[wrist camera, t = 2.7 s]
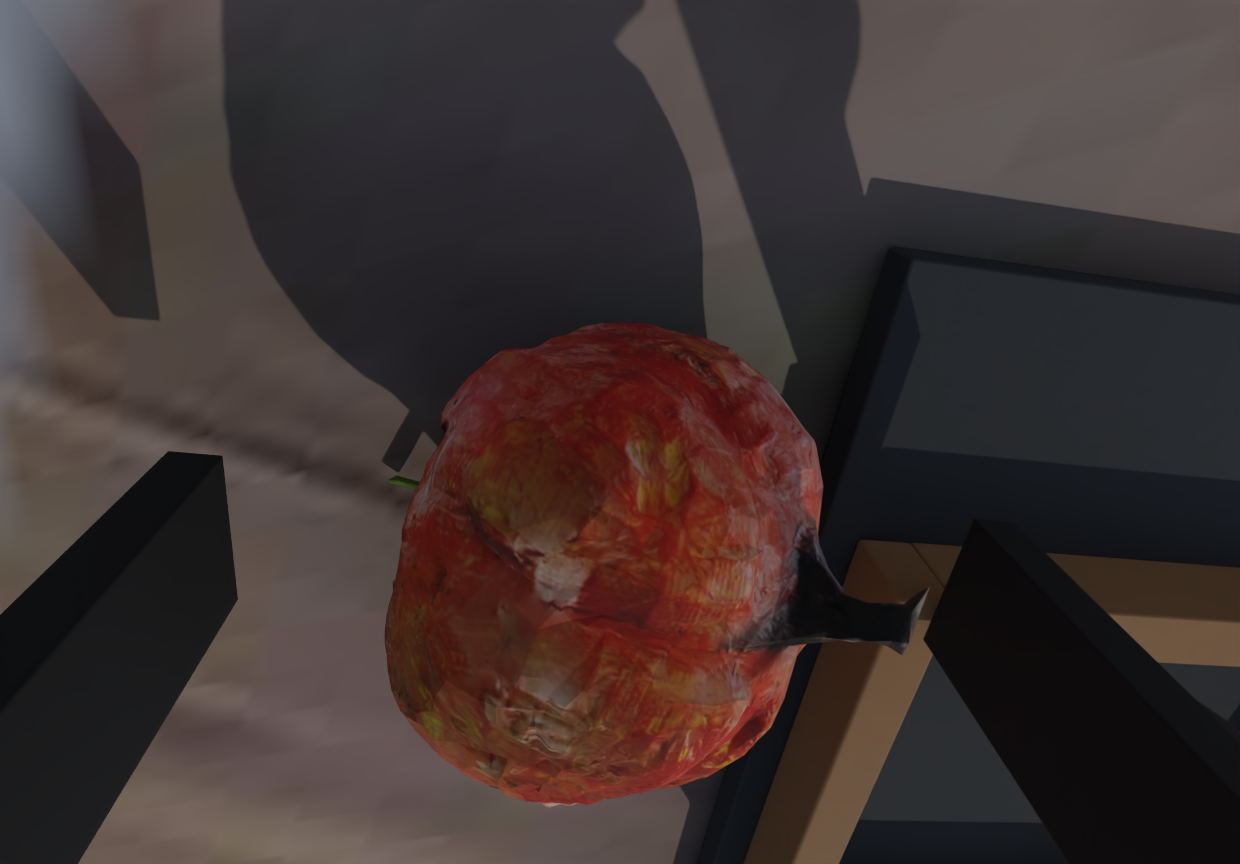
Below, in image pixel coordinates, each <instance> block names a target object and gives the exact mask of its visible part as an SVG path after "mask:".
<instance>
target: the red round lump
mask: <svg viewBox="0 0 1240 864" xmlns="http://www.w3.org/2000/svg"><path fill="white" fill-rule="evenodd" d="M441 428H442V429H443V430H444V431H445V432H446V433H445V436H444V438H443V440H442V441H441V443H440V444H439V446H438V447H437V449H436V450H435V452H434V453H433V455H432V457H431V458H430V460H429V461H428V463H427V465H426V468H425V471H424V474H423V477H422V479H421V481H420V482H418V481H414V480H410V479H407V478H403V477H400V476H395V477H393V478H391V479H389V483H392V484H396V485H400V486H404V487H408V488H412V489H414V490H415V493H414V495H413V498H412V500H411V503H410V505H409V508H408V511H407V515H406V518H405V521H404V524H403V528H402V544H401V551H400V557H399V563H398V569H397V574H396V580H394V581H393V593H392V596H391V600H390V603H389V607H388V612H387V617H386V625H385V647H386V653H387V665H388V673H389V679H390V684H391V689H392V692H393V695H394V697H395V699H396V702H397V704H398V706H399V709H400V711H401V712H402V713H403V715H404V716H405V717H406V719H407V720H408V721H409V722H410V724H411V725H412V726H413V728H414V729H415V730H416V731H417V732H418V734H419V735H420V736H421V737H422V738H423V739H424V740H425V741H426V742H427V743H428V744H429V745H430V746H431V748H432V749H433V750H434V751H435V752H436V753H437V754H438V755H439V756H440V757H441V758H442V759H444V760H445V761H447V762H449V763H451V764H452V765H454V766H455V767H456V768H457V769H458V770H460V771H461V772H462V773H463V774H464V775H466V776H469V777H471V778H473V779H475V780H478V781H480V782H482V783H484V784H487V785H489V786H491V787H494V788H497V789H500V790H501V791H502V792H503V793H504V794H505V795H506V796H509V797H513V798H516V799H519V800H523V801H530V802H540V803H541V804H543V805H544V806H546V807H547V808H550V807H552V806H555V805H561V804H564V805H567V806H571V805H574V804H577V803H578V804H585V805H588V804H592V803H596V802H599V801H602V800H604V799H611V798H620V797H623V796H626V795H629V794H636V793H642V792H646V791H650V790H653V789H661V788H667V787H674V786H680V785H684V784H686V783H689V782H692V781H694V780H697V779H700V778H706V777H708V776H710V775H712V774H713V773H715V772H717V771H718V770H720V769H722V768H723V767H725V766H727V765H729V764H730V763H732V762H734V761H735V760H737V759H739V758H740V757H742V756H744V755H745V754H746V753H747V752H748V750H749V749H750V748H751V747H752V746H753V745H754V744H755V743H756V742H757V741H758V740H759V739H760V738H761V737H762V736H763V735H764V734H765V733H766V732H767V731H768V730H769V729H770V728H771V726H772V724H773V722H774V720H775V717H776V715H777V713H778V711H779V709H780V707H781V704H782V702H783V700H784V698H785V694H786V691H787V688H788V684H789V681H790V677H791V674H792V671H793V667H794V664H795V661H796V657H797V655H798V654H799V652H800V651H801V650H802V649H803V647H804V646H805V645H806V644H809V643H820V642H831V641H842V640H843V641H849V642H867V641H873V642H876V643H879V644H882V645H885V646H888V647H889V648H891V649H892V650H894V651H895V652H897V653H899V654H900V655H903V653H904V651H905V650H906V648H907V647H908V645H909V644H910V642H911V638H912V635H913V632H914V629H915V626H916V623H917V620H918V617H919V614H920V612H921V609H922V606H923V604H924V601H925V598H926V596H927V593H928V591H929V588H930V586H929V587H927V588H926V589H924V590H922V591H920V592H919V593H917V594H915V595H914V596H913V597H912V598H910V599H909V600H908V601H907V602H905V603H904V604H892V603H866V602H864V601H861V600H859V599H856V598H854V597H851V596H848V595H847V594H846V593H845V591H844V590H843V588H842V587H841V586H840V584H839V583H838V581H837V580H836V579H835V577H834V576H833V574H832V573H831V571H830V570H829V567H828V565H827V562H826V560H825V558H824V555H823V553H822V550H821V548H820V545H819V538H818V529H819V520H820V511H821V502H822V493H823V481H822V476H821V470H820V464H819V459H818V453H817V447H816V444H815V441H814V439H813V438H812V437H811V436H810V434H809V433H808V432H807V431H806V430H805V429H804V427H803V426H802V424H801V423H800V421H799V420H798V419H797V417H796V416H795V414H794V413H793V411H792V410H791V409H790V407H789V406H788V404H787V403H786V402H785V401H784V399H783V398H782V397H781V395H780V394H779V393H778V392H777V390H776V389H775V388H774V386H773V385H772V384H771V383H770V382H769V380H768V379H767V378H765V377H764V376H763V375H762V374H761V373H760V372H758V371H757V370H756V369H755V368H753V367H752V366H751V365H750V364H749V363H747V362H746V361H745V360H744V359H742V358H741V357H740V356H738V355H737V354H736V353H735V352H734V351H733V350H732V349H731V348H729V347H725V346H722V345H719V344H717V343H716V342H714V341H712V340H709V339H706V338H703V337H701V336H696V335H689V334H683V333H681V332H678V331H672V330H666V329H662V328H660V327H658V326H656V325H652V324H649V323H634V322H614V323H600V324H595V325H588V326H582V327H581V328H579V329H577V330H576V331H573V332H570V333H567V334H564V335H561V336H557V337H552V338H549V339H548V340H547V341H546V342H544V343H543V344H542V345H540V346H537V347H533V348H521V349H519V348H509V349H505V350H502V351H500V352H499V353H497V354H496V355H495V356H493V357H492V358H491V359H490V360H489V361H487V362H486V363H485V364H484V365H482V366H481V367H480V368H479V369H477V370H476V371H475V372H474V373H473V374H472V375H471V376H469V377H468V378H467V379H466V380H465V381H464V383H463V384H462V385H461V386H460V387H459V389H458V390H457V391H456V393H455V395H454V397H453V398H452V399H451V400H450V401H449V402H448V403H447V405H446V407H445V408H444V410H443V412H442V414H441Z"/></svg>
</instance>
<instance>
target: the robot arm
mask: <svg viewBox="0 0 1240 864" xmlns="http://www.w3.org/2000/svg"><path fill="white" fill-rule="evenodd" d="M237 600H238V597H237V588H236V578H235V569H234V560H233V551H232V541H231V532H230V523H229V513H228V504H227V495H226V485H225V476H224V467H223V458H222V456H219V455H207V454H195V453H183V452H171V451H168V452H167V453H166V454H165V455H164V456H163V457H162V458H161V459H160V460H159V461H158V462H157V463H156V464H155V465H154V466H153V467H152V468H151V469H150V470H149V471H148V472H147V473H146V474H145V475H144V476H143V477H141V478H140V479H139V480H138V481H137V482H136V483H135V484H134V485H133V486H132V487H131V488H130V489H129V490H128V491H127V492H126V493H125V494H124V495H123V496H122V497H121V498H120V499H119V500H118V501H117V502H116V503H115V504H114V505H113V506H112V507H111V508H110V509H109V510H108V511H107V512H106V513H105V514H103V515H102V516H101V517H100V518H99V519H98V520H97V521H96V522H95V523H94V524H93V525H92V526H91V527H90V528H89V529H88V530H87V531H86V532H85V533H84V534H83V535H82V536H81V537H80V538H79V539H78V540H77V541H76V542H75V543H74V544H73V545H72V546H71V547H70V548H69V549H68V550H67V551H65V552H64V553H63V554H62V555H61V556H60V557H59V558H58V559H57V560H56V561H55V562H54V563H53V564H52V565H51V566H50V567H49V568H48V569H47V570H46V571H45V572H44V573H43V574H42V575H41V576H40V577H39V578H38V579H37V580H36V581H35V582H34V583H33V584H32V585H31V586H30V587H29V588H27V589H26V590H25V591H24V592H23V593H22V594H21V595H20V596H19V597H18V598H17V599H16V600H15V601H14V602H13V603H12V604H11V605H10V606H9V607H8V608H7V609H6V610H5V611H4V612H3V613H2V614H1V615H0V864H78V863H79V861H80V859H81V858H82V856H83V854H84V853H85V851H86V849H87V848H88V846H89V844H90V843H91V841H92V839H93V838H94V836H95V834H96V833H97V831H98V829H99V828H100V826H101V825H102V823H103V821H104V820H105V818H106V816H107V815H108V813H109V811H110V810H111V808H112V806H113V805H114V803H115V801H116V800H117V798H118V796H119V795H120V793H121V791H122V790H123V788H124V787H125V785H126V783H127V782H128V780H129V778H130V777H131V775H132V773H133V772H134V770H135V768H136V767H137V765H138V763H139V762H140V760H141V758H142V757H143V755H144V753H145V752H146V750H147V748H148V747H149V745H150V744H151V742H152V740H153V739H154V737H155V735H156V734H157V732H158V730H159V729H160V727H161V725H162V724H163V722H164V720H165V719H166V717H167V715H168V714H169V712H170V710H171V709H172V707H173V706H174V704H175V702H176V701H177V699H178V697H179V696H180V694H181V692H182V691H183V689H184V687H185V686H186V684H187V682H188V681H189V679H190V677H191V676H192V674H193V672H194V671H195V669H196V667H197V666H198V664H199V663H200V661H201V659H202V658H203V656H204V654H205V653H206V651H207V649H208V648H209V646H210V644H211V643H212V641H213V639H214V638H215V636H216V634H217V633H218V631H219V629H220V628H221V626H222V625H223V623H224V621H225V620H226V618H227V616H228V615H229V613H230V611H231V610H232V608H233V606H234V605H235V603H236V601H237ZM923 640H924V642H925V643H926V645H927V646H928V648H929V649H930V651H931V652H932V654H933V655H934V657H935V658H936V660H937V662H938V663H939V665H940V666H941V668H942V669H943V671H944V672H945V674H946V675H947V677H948V678H949V680H950V681H951V683H952V685H953V686H954V688H955V689H956V691H957V692H958V694H959V695H960V697H961V698H962V700H963V701H964V703H965V704H966V706H967V708H968V709H969V711H970V712H971V714H972V715H973V717H974V718H975V720H976V721H977V723H978V724H979V726H980V727H981V729H982V731H983V732H984V734H985V735H986V737H987V738H988V740H989V741H990V743H991V744H992V746H993V747H994V749H995V751H996V752H997V754H998V755H999V757H1000V758H1001V760H1002V761H1003V763H1004V764H1005V766H1006V767H1007V769H1008V770H1009V772H1010V774H1011V775H1012V777H1013V778H1014V780H1015V781H1016V783H1017V784H1018V786H1019V787H1020V789H1021V790H1022V792H1023V793H1024V795H1025V797H1026V798H1027V800H1028V801H1029V803H1030V804H1031V806H1032V807H1033V809H1034V810H1035V812H1036V813H1037V815H1038V816H1039V818H1040V820H1041V821H1042V823H1043V824H1044V826H1045V827H1046V829H1047V830H1048V832H1049V833H1050V835H1051V836H1052V838H1053V840H1054V841H1055V843H1056V844H1057V846H1058V847H1059V849H1060V850H1061V852H1062V853H1063V855H1064V856H1065V858H1066V859H1067V861H1068V863H1069V864H1240V730H1239V729H1238V728H1236V727H1235V726H1234V725H1232V724H1231V723H1229V722H1228V721H1226V720H1225V719H1223V718H1222V717H1221V716H1219V715H1218V714H1216V713H1215V712H1213V711H1212V710H1210V709H1209V708H1207V707H1206V706H1205V705H1203V704H1202V703H1199V702H1198V701H1197V700H1196V699H1195V698H1194V697H1193V696H1192V695H1191V694H1190V693H1189V692H1188V691H1187V690H1186V689H1185V688H1184V687H1183V686H1182V685H1180V684H1179V683H1178V682H1177V681H1176V680H1175V679H1174V678H1173V677H1172V676H1171V675H1170V674H1169V673H1168V672H1167V671H1166V670H1165V669H1164V668H1163V667H1162V666H1161V665H1160V664H1159V663H1158V662H1157V661H1156V660H1155V659H1154V658H1153V657H1152V656H1151V655H1150V654H1149V653H1148V652H1147V651H1146V650H1145V649H1144V648H1143V647H1142V646H1140V645H1139V644H1138V643H1137V642H1136V641H1135V640H1134V639H1133V638H1132V637H1131V636H1130V635H1129V634H1128V633H1127V632H1126V631H1125V630H1124V629H1123V628H1122V627H1121V626H1120V625H1119V624H1118V623H1117V622H1116V621H1115V620H1114V619H1113V618H1112V617H1111V616H1110V615H1109V614H1108V613H1107V612H1106V611H1105V610H1104V609H1103V608H1102V607H1100V606H1099V605H1098V604H1097V603H1096V602H1095V601H1094V600H1093V599H1092V598H1091V597H1090V596H1089V595H1088V594H1087V593H1086V592H1085V591H1084V590H1083V589H1082V588H1081V587H1080V586H1079V585H1078V584H1077V583H1076V582H1075V581H1074V580H1073V579H1072V578H1071V577H1070V576H1069V575H1068V574H1067V573H1066V572H1065V571H1064V570H1063V569H1062V568H1060V567H1059V566H1058V565H1057V564H1056V563H1055V562H1054V561H1053V560H1052V559H1051V558H1050V557H1049V556H1048V555H1047V554H1046V553H1045V552H1044V551H1043V550H1042V549H1041V548H1040V547H1039V546H1038V545H1037V544H1036V543H1035V542H1034V541H1033V540H1032V539H1031V538H1030V537H1029V536H1028V535H1027V534H1026V533H1025V532H1024V531H1023V530H1022V529H1020V528H1019V527H1018V526H1017V525H1016V524H1015V523H1014V522H1007V521H996V520H984V519H974V520H973V522H972V525H971V527H970V529H969V532H968V534H967V536H966V539H965V541H964V544H963V546H962V548H961V551H960V553H959V555H958V558H957V560H956V563H955V565H954V567H953V570H952V572H951V574H950V577H949V579H948V582H947V584H946V586H945V589H944V591H943V593H942V596H941V598H940V601H939V603H938V605H937V608H936V610H935V612H934V615H933V617H932V619H931V622H930V624H929V627H928V629H927V631H926V634H925V636H924V638H923Z"/></svg>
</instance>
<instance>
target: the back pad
mask: <svg viewBox="0 0 1240 864" xmlns="http://www.w3.org/2000/svg"><path fill="white" fill-rule="evenodd" d="M820 470H821V476H822V481H823V493H822V502H821V511H820V520H819V529H818V538H819V545H820V548H821V550H822V553H823V555H824V558H825V560H826V562H827V565H828V567H829V570H830V571H831V573H832V574H833V576H834V577H835V579H836V580H837V581H838V583H839V584H840V586H841V587H842V588H843V590H844V591H845V593H846V594H847V595H848V596H851V597H854V598H856V599H859V600H861V601H864V602H866V603H892V604H904V603H905V602H907V601H908V600H909V599H910V598H912V597H913V596H914V595H915V594H917V593H919V592H920V591H922V590H924V589H926V588H927V587H929V586H930V588H929V591H928V593H927V596H926V598H925V601H924V604H923V606H922V609H921V612H920V614H919V617H918V620H917V623H916V626H915V629H914V632H913V635H912V638H911V642H910V644H909V645H908V647H907V648H906V650H905V651H904V653H903V655H900V654H899V653H897V652H895V651H894V650H892V649H891V648H889V647H888V646H885V645H882V644H879V643H876V642H873V641H867V642H849V641H843V640H842V641H831V642H820V643H809V644H806V645H805V646H804V647H803V649H802V650H801V651H800V652H799V654H798V655H797V657H796V661H795V664H794V667H793V671H792V674H791V677H790V681H789V684H788V688H787V691H786V694H785V698H784V700H783V702H782V704H781V707H780V709H779V711H778V713H777V715H776V717H775V720H774V722H773V724H772V726H771V728H770V729H769V730H768V731H767V732H766V733H765V734H764V735H763V736H762V737H761V738H760V739H759V740H758V741H757V742H756V743H755V744H754V745H753V746H752V747H751V748H750V749H749V750H748V752H747V753H746V754H745V755H744V756H742V757H740V758H739V759H737V760H735V761H734V762H732V763H730V764H729V765H728V766H727V770H726V773H725V776H724V779H723V782H722V786H721V789H720V792H719V795H718V798H717V802H716V805H715V808H714V811H713V814H712V818H711V821H710V824H709V827H708V830H707V834H706V837H705V840H704V843H703V846H702V850H701V853H700V856H699V859H698V863H697V864H1069V863H1068V861H1067V859H1066V858H1065V856H1064V855H1063V853H1062V852H1061V850H1060V849H1059V847H1058V846H1057V844H1056V843H1055V841H1054V840H1053V838H1052V836H1051V835H1050V833H1049V832H1048V830H1047V829H1046V827H1045V826H1044V824H1043V823H1042V821H1041V820H1040V818H1039V816H1038V815H1037V813H1036V812H1035V810H1034V809H1033V807H1032V806H1031V804H1030V803H1029V801H1028V800H1027V798H1026V797H1025V795H1024V793H1023V792H1022V790H1021V789H1020V787H1019V786H1018V784H1017V783H1016V781H1015V780H1014V778H1013V777H1012V775H1011V774H1010V772H1009V770H1008V769H1007V767H1006V766H1005V764H1004V763H1003V761H1002V760H1001V758H1000V757H999V755H998V754H997V752H996V751H995V749H994V747H993V746H992V744H991V743H990V741H989V740H988V738H987V737H986V735H985V734H984V732H983V731H982V729H981V727H980V726H979V724H978V723H977V721H976V720H975V718H974V717H973V715H972V714H971V712H970V711H969V709H968V708H967V706H966V704H965V703H964V701H963V700H962V698H961V697H960V695H959V694H958V692H957V691H956V689H955V688H954V686H953V685H952V683H951V681H950V680H949V678H948V677H947V675H946V674H945V672H944V671H943V669H942V668H941V666H940V665H939V663H938V662H937V660H936V658H935V657H934V655H933V654H932V652H931V651H930V649H929V648H928V646H927V645H926V643H925V642H924V640H923V638H924V636H925V634H926V631H927V629H928V627H929V624H930V622H931V619H932V617H933V615H934V612H935V610H936V608H937V605H938V603H939V601H940V598H941V596H942V593H943V591H944V589H945V586H946V584H947V582H948V579H949V577H950V574H951V572H952V570H953V567H954V565H955V563H956V560H957V558H958V555H959V553H960V551H961V548H962V546H963V544H964V541H965V539H966V536H967V534H968V532H969V529H970V527H971V525H972V522H973V520H974V519H984V520H996V521H1007V522H1014V523H1015V524H1016V525H1017V526H1018V527H1019V528H1020V529H1022V530H1023V531H1024V532H1025V533H1026V534H1027V535H1028V536H1029V537H1030V538H1031V539H1032V540H1033V541H1034V542H1035V543H1036V544H1037V545H1038V546H1039V547H1040V548H1041V549H1042V550H1043V551H1044V552H1045V553H1046V554H1047V555H1048V556H1049V557H1050V558H1051V559H1052V560H1053V561H1054V562H1055V563H1056V564H1057V565H1058V566H1059V567H1060V568H1062V569H1063V570H1064V571H1065V572H1066V573H1067V574H1068V575H1069V576H1070V577H1071V578H1072V579H1073V580H1074V581H1075V582H1076V583H1077V584H1078V585H1079V586H1080V587H1081V588H1082V589H1083V590H1084V591H1085V592H1086V593H1087V594H1088V595H1089V596H1090V597H1091V598H1092V599H1093V600H1094V601H1095V602H1096V603H1097V604H1098V605H1099V606H1100V607H1102V608H1103V609H1104V610H1105V611H1106V612H1107V613H1108V614H1109V615H1110V616H1111V617H1112V618H1113V619H1114V620H1115V621H1116V622H1117V623H1118V624H1119V625H1120V626H1121V627H1122V628H1123V629H1124V630H1125V631H1126V632H1127V633H1128V634H1129V635H1130V636H1131V637H1132V638H1133V639H1134V640H1135V641H1136V642H1137V643H1138V644H1139V645H1140V646H1142V647H1143V648H1144V649H1145V650H1146V651H1147V652H1148V653H1149V654H1150V655H1151V656H1152V657H1153V658H1154V659H1155V660H1156V661H1157V662H1158V663H1159V664H1160V665H1161V666H1162V667H1163V668H1164V669H1165V670H1166V671H1167V672H1168V673H1169V674H1170V675H1171V676H1172V677H1173V678H1174V679H1175V680H1176V681H1177V682H1178V683H1179V684H1180V685H1182V686H1183V687H1184V688H1185V689H1186V690H1187V691H1188V692H1189V693H1190V694H1191V695H1192V696H1193V697H1194V698H1195V699H1196V700H1197V701H1198V702H1199V703H1202V704H1203V705H1205V706H1206V707H1207V708H1209V709H1210V710H1212V711H1213V712H1215V713H1216V714H1218V715H1219V716H1221V717H1222V718H1223V719H1225V720H1226V721H1228V722H1229V723H1231V724H1232V725H1234V726H1235V727H1236V728H1238V729H1239V730H1240V295H1237V294H1230V293H1223V292H1215V291H1208V290H1201V289H1194V288H1187V287H1180V286H1173V285H1165V284H1158V283H1151V282H1144V281H1137V280H1130V279H1122V278H1115V277H1108V276H1101V275H1094V274H1087V273H1080V272H1072V271H1065V270H1058V269H1051V268H1044V267H1037V266H1030V265H1022V264H1015V263H1008V262H1001V261H994V260H987V259H979V258H972V257H965V256H958V255H951V254H944V253H937V252H929V251H922V250H915V249H908V248H901V247H894V246H893V247H890V248H889V250H888V253H887V256H886V259H885V263H884V266H883V269H882V272H881V276H880V279H879V282H878V285H877V288H876V292H875V295H874V298H873V301H872V304H871V308H870V311H869V314H868V317H867V320H866V324H865V327H864V330H863V333H862V336H861V340H860V343H859V346H858V349H857V353H856V356H855V359H854V362H853V365H852V369H851V372H850V375H849V378H848V381H847V385H846V388H845V391H844V394H843V397H842V401H841V404H840V407H839V410H838V413H837V417H836V420H835V423H834V426H833V429H832V433H831V436H830V439H829V442H828V446H827V449H826V452H825V455H824V458H823V462H822V465H821V468H820Z"/></svg>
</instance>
